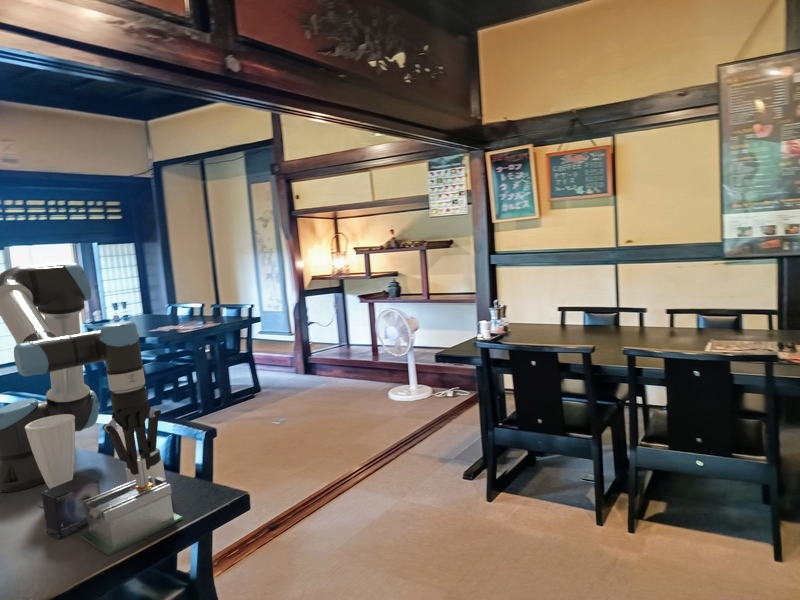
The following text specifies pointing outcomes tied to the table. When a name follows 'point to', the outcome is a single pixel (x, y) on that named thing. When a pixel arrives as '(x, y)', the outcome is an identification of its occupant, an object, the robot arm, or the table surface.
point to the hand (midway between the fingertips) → (142, 484)
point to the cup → (53, 448)
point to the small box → (68, 505)
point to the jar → (155, 467)
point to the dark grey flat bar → (115, 501)
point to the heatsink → (129, 516)
